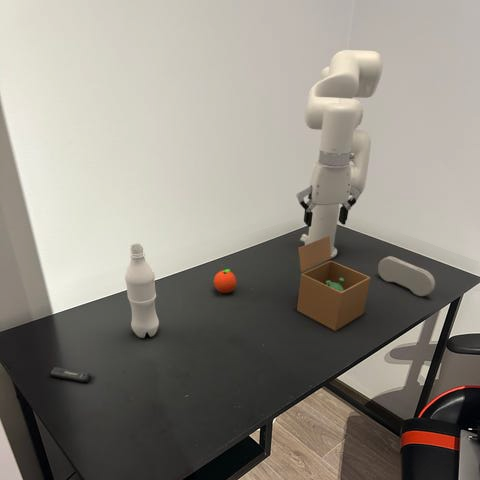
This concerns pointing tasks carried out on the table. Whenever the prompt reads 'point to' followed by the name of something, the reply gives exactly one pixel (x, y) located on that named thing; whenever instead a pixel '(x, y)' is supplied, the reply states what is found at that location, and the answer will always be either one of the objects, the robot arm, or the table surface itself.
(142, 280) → the water bottle
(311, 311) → the carton
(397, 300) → the table surface
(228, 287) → the clementine
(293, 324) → the table surface
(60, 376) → the usb stick
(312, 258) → the flap
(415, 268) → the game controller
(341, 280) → the alien toy
